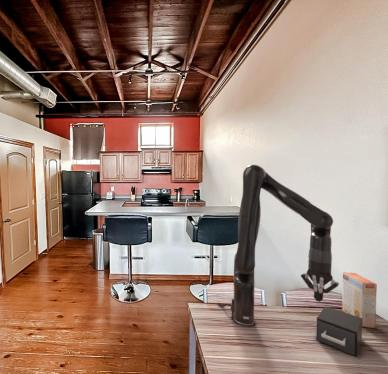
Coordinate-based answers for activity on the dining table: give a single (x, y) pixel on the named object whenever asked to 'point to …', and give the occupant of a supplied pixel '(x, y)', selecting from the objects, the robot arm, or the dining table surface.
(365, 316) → the cracker box
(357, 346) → the dark grey box
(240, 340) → the dining table surface
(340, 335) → the drawer
